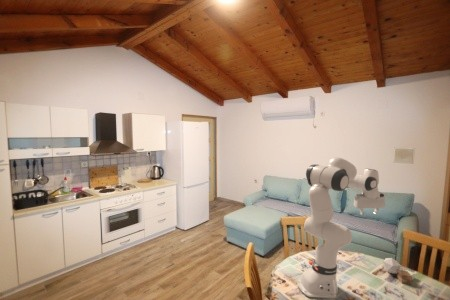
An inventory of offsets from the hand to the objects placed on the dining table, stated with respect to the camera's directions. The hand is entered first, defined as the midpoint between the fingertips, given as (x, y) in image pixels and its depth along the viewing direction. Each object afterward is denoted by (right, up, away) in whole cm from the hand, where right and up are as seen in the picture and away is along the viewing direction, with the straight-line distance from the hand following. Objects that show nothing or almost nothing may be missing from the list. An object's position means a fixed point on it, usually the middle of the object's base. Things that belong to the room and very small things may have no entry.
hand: (368, 214), depth 145 cm
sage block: (+17, -36, -12) cm, 41 cm away
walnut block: (+12, -30, -15) cm, 36 cm away
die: (+10, -35, -6) cm, 37 cm away
